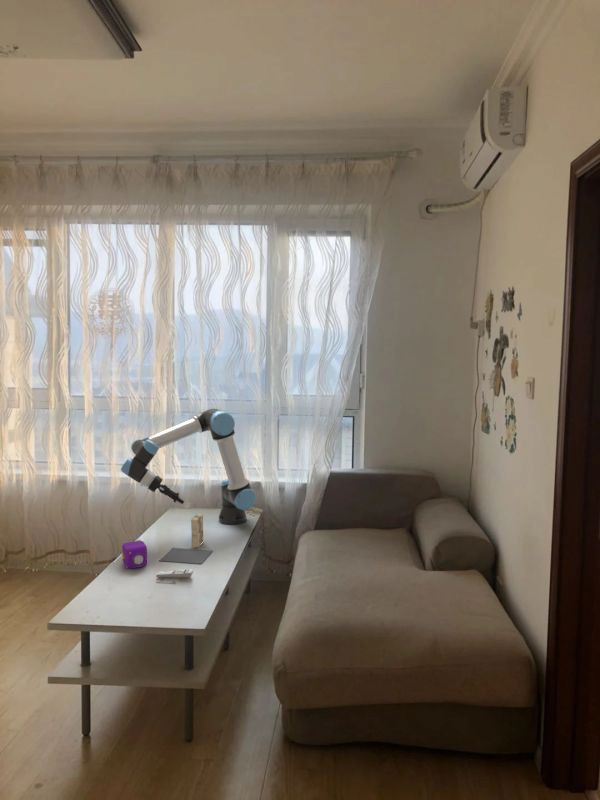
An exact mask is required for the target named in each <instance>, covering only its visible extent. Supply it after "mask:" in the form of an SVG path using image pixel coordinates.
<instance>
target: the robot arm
mask: <svg viewBox="0 0 600 800" xmlns="http://www.w3.org/2000/svg"><path fill="white" fill-rule="evenodd" d="M208 431H209V432H210V434H211V437H212V440H213V441H215V442H216V443H217V444H216V445H217V447H218V451H219V453H220V457H221V460H222V464H223V466H224V470H225V473H226V474H225V475H226V477H227V479H223V480H222V481H221V485H220V488H221V508H220V512H219V515H218V522H219V521H220V522H221V524H223V523H224V524H223V525H239V524H242V523H245V522H246V521H247V513H246V511H247V510H249V509H251V508H252V507H253V506H254V505H255V503H256V500H257V495H256V492H255V491H254V489H252V485H251V484H250V481H249V479H247V478H246V477H245V473H244V470H243V466H242V463H241V459H240V456H239V452H238V450H237V446H236V443H235V438H234V436H235V433H236V432H235V419H234V416H232V414H230V413H229V412H227V411H226V410H221V409H217V408H209V409H207V410H205V411H202V412H199V413H198V414H195V415H193V416H192V418H191V419H188V420H186V421H184V422H182V423H179V424H177V425H174V426H172V427H170V428H166V429H164V430H162V431H160V432H158V433H155V434H153V435H151V436H148V437H145V438H143V439H135V440H134V441H133V442H132V443H131V447H130V449H131V451H132V453H133V454H134V457H133V458H131V457H128V458H127V459H126V461H125V462H124V463H123V465H122V466H121V468H120V470H121V472H122V473H124V474H125V475H126V476H127V477H128V478H131V479H133V480H134V481H135V482H137V483H138V484H140V486H141V487H145V488H147V489H148V490H149V491H150V492H152V493H155V492H156V491H157V489H158V491H159V493H160V494H163V495H165V496H167V497H168V498H170V499H171V500H173V503H177V504H179V505H181V506H182V507H184V508H185V509H187V510H188V509H189V508H190V507H191V505H192V503H191V501H190V500H188V499H186V498H185V497H183V496H181V495H180V493H179V492H176V491H173V490H171V488H170V487H168V486H167V485H166V484H162V482H163V478H162V477H160V476H159V475H156V473H154V472H153V471H151V470H150V469H148V468H147V467H148V466H149V464H150V462H152V461H153V459H154V457H155V456H156V454H157V453H158V451H159V449H161V448H164V447H166V446H169V445H171V444H173V443H175V442H178V441H180V440H183V439H185V438H187V437H190V436H193V435H194V434H196V433H199V434H202V433H204V432H208ZM220 522H219V523H220Z"/></svg>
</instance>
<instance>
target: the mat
mask: <svg viewBox="0 0 600 800" xmlns="http://www.w3.org/2000/svg"><path fill="white" fill-rule="evenodd" d="M213 552H214V550H213V549H200V548H180V547H172V548H171V549H170V550H168V552H166V553H165V554H164V555H163V556H162V557H161V558H160V559H159V560H158V562H160V563H175V564H188V565H189V564H190V565H203V563H204V562H205V561H206V560H207V559H208V558H207V557H210V555H211V554H212V553H213Z"/></svg>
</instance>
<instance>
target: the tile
mask: <svg viewBox="0 0 600 800" xmlns="http://www.w3.org/2000/svg"><path fill="white" fill-rule="evenodd" d="M190 521H191V523H190V524H191V525H190V526H191V528H190V529H191V548H192V547H198V548H200V546H201V545H202V544H203V543H204V542H203V541H204V514H202V513H201V514H199V513H197V514H195V515H194V516H193V517H191V519H190ZM202 542H203V543H202ZM201 543H202V544H201ZM200 544H201V545H200Z"/></svg>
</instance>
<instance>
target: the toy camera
mask: <svg viewBox="0 0 600 800" xmlns="http://www.w3.org/2000/svg"><path fill="white" fill-rule="evenodd" d="M121 558H122V559H121V560H122V563H123V564H124V566H125V568H127V569H134V568H141V567H144V566H145V567H146V566H147V565H148V547H147V545H146V544H145V542H144V541H142V540H141V539H137V540H134V541H130V542H129V541H128V542H124V543H122V545H121Z"/></svg>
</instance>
